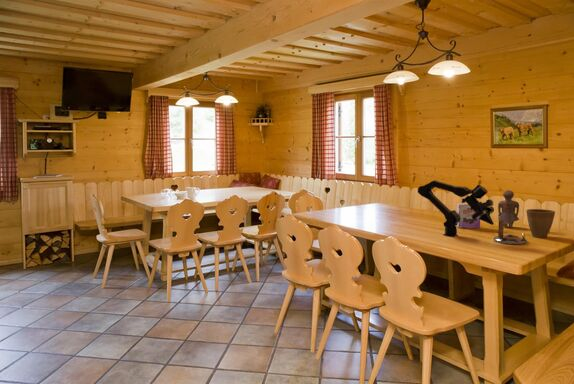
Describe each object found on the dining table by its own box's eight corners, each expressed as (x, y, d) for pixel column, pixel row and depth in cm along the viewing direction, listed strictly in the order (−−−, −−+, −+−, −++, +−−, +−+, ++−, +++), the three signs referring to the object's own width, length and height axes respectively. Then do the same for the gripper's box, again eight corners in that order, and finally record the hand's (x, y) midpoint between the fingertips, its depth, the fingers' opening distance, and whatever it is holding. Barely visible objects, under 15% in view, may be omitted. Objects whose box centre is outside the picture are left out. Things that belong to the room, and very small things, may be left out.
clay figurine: (519, 226, 287) (520, 190, 284) (518, 229, 279) (520, 191, 276) (497, 225, 294) (499, 189, 291) (496, 227, 285) (497, 190, 283)
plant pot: (559, 238, 251) (561, 211, 249) (537, 239, 249) (538, 213, 247) (541, 233, 266) (542, 208, 264) (519, 234, 263) (520, 209, 261)
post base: (487, 240, 250) (487, 232, 249) (506, 237, 258) (506, 229, 257) (513, 246, 235) (514, 237, 234) (533, 242, 243) (533, 234, 242)
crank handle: (493, 238, 246) (494, 219, 245) (507, 236, 252) (508, 217, 251) (513, 242, 235) (514, 222, 234) (528, 240, 241) (528, 220, 240)
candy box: (458, 228, 286) (459, 204, 284) (456, 226, 292) (457, 203, 290) (480, 228, 284) (480, 204, 282) (477, 227, 289) (478, 203, 287)
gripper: (477, 196, 242) (497, 218, 235) (490, 193, 254) (509, 213, 248) (463, 209, 248) (482, 230, 241) (476, 205, 261) (495, 225, 254)
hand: (493, 224), depth 246 cm, fingers closed
